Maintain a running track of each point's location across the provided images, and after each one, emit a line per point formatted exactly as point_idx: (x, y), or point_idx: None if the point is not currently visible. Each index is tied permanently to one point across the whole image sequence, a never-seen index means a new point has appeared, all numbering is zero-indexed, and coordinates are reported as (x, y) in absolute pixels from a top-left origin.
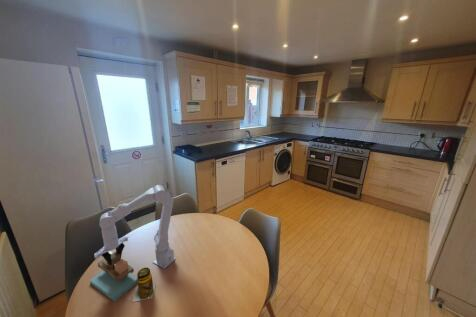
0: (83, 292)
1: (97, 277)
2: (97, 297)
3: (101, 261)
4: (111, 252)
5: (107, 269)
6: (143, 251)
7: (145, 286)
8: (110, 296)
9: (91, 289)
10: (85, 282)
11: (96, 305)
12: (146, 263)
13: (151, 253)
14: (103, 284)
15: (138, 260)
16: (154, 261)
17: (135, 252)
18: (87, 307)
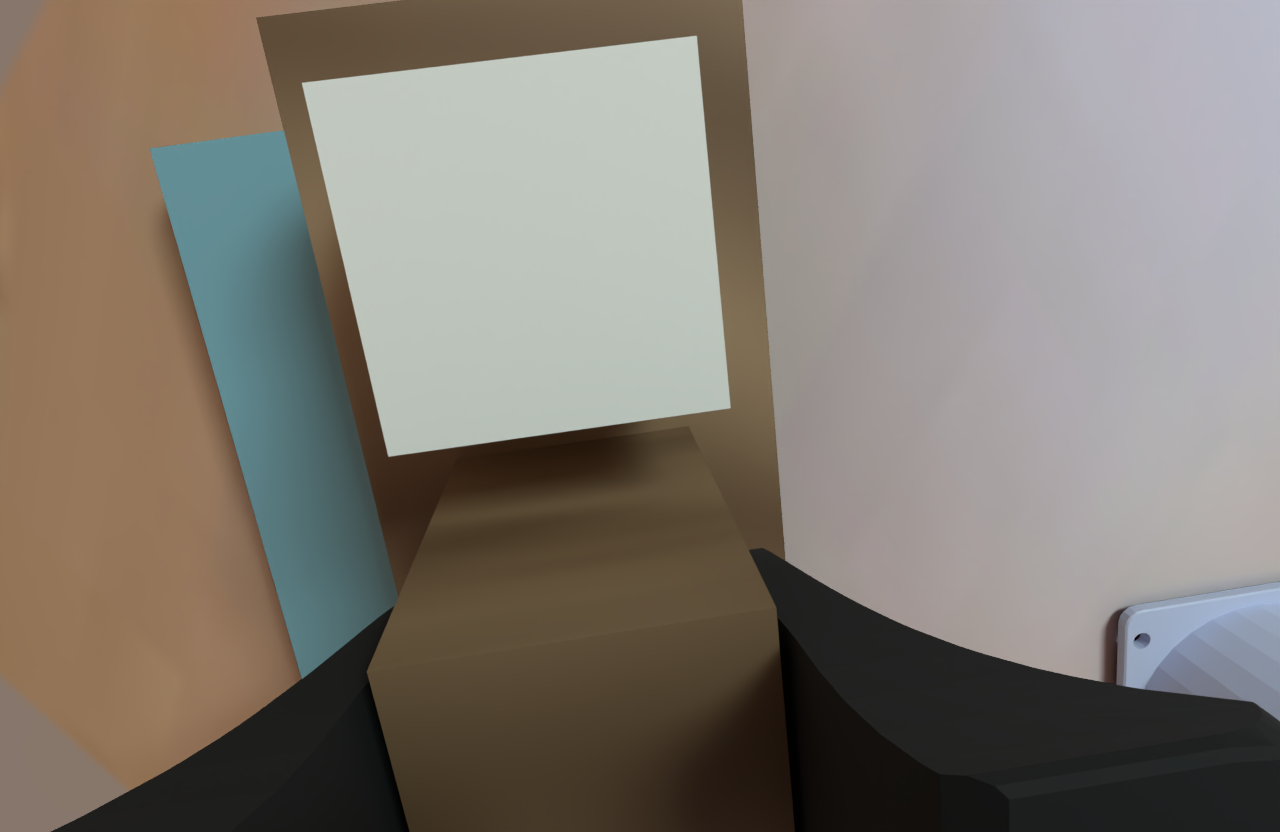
0: (57, 284)
1: (291, 211)
2: (221, 584)
3: (372, 40)
4: (684, 230)
5: (399, 531)
6: (1251, 157)
7: None
8: None
9: (181, 332)
10: (122, 30)
11: (178, 711)
12: (1051, 531)
13: (1275, 363)
14: (327, 506)
15: (1029, 334)
16: (1148, 633)
17: (1154, 25)
18: (70, 647)
